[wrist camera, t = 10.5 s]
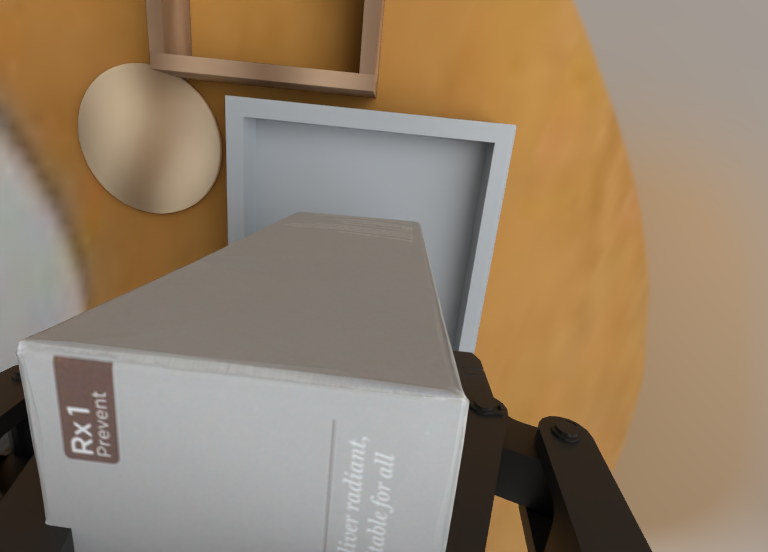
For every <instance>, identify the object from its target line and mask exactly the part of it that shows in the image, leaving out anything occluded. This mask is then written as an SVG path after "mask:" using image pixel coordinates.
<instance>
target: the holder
mask: <svg viewBox="0 0 768 552" xmlns="http://www.w3.org/2000/svg"><path fill="white" fill-rule="evenodd" d="M384 2H385V0H365V1H364V15H363V29H362V43H361V56H360V70H359V73H351V72H341V71H331V70H321V69H311V68H302V67H292V66H282V65H272V64H262V63H253V62H243V61H233V60H223V59H213V58H204V57H194V56H192V47H191V24H190V0H146V11H147V25H148V39H149V53H150V67H151V69H154V70H157V71H160V72H163V73H166V74H169V75H172V76H175V77H180V78H185V79H194V80H204V81H214V82H224V83H233V84H243V85H253V86H262V87H272V88H282V89H292V90H301V91H311V92H321V93H331V94H340V95H350V96H360V97H369V98H376V95H377V84H378V72H379V60H380V49H381V37H382V25H383V14H384Z"/></svg>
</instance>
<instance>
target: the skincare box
mask: <svg viewBox="0 0 768 552" xmlns="http://www.w3.org/2000/svg"><path fill="white" fill-rule="evenodd" d="M16 355H17V359H18V363H19V369H20V375H21V380H22V385H23V390H24V396H25V401H26V407H27V413H28V419H29V425H30V431H31V437H32V443H33V448H34V453H35V458H36V463H37V468H38V473H39V478H40V483H41V490H42V496H43V502H44V509H45V517H46V521H45V523H46V524H47V525H52V526H59V527H66V528H71V530H72V537H73V543H74V550H75V552H445V551H446V546H447V540H448V534H449V528H450V522H451V516H452V511H453V505H454V499H455V493H456V487H457V481H458V475H459V469H460V463H461V457H462V450H463V444H464V437H465V430H466V422H467V415H468V408H469V400H468V398H467V397H466V396H465V394H464V391H463V389H462V386H461V382H460V377H459V373H458V370H457V366H456V362H455V358H454V355H453V351H452V347H451V344H450V340H449V337H448V333H447V329H446V326H445V322H444V318H443V314H442V310H441V306H440V302H439V298H438V294H437V289H436V285H435V281H434V278H433V274H432V270H431V265H430V261H429V257H428V253H427V250H426V246H425V241H424V237H423V233H422V228H421V225H420V223H419V222H414V221H406V220H394V219H382V218H369V217H357V216H345V215H335V214H324V213H313V212H298V213H295V214H293V215H291V216H288V217H287V218H284V219H282V220H280V221H278V222H276V223H274V224H272V225H270V226H268V227H265V228H263V229H261V230H259V231H257V232H255V233H253V234H251V235H249V236H247V237H245V238H243V239H241V240H239V241H236V242H234V243H232V244H230V245H228V246H226V247H224V248H222V249H220V250H218V251H215V252H213V253H211V254H209V255H207V256H205V257H203V258H201V259H199V260H197V261H195V262H193V263H191V264H189V265H186V266H184V267H182V268H179V269H177V270H175V271H173V272H171V273H169V274H167V275H164V276H162V277H160V278H158V279H156V280H154V281H152V282H149V283H147V284H145V285H143V286H140V287H138V288H136V289H134V290H132V291H130V292H128V293H125V294H123V295H121V296H119V297H117V298H115V299H112V300H110V301H108V302H106V303H104V304H101V305H99V306H97V307H95V308H93V309H90V310H88V311H86V312H84V313H82V314H79V315H77V316H75V317H73V318H71V319H69V320H66V321H64V322H62V323H60V324H58V325H56V326H53V327H51V328H49V329H46V330H44V331H42V332H39V333H37V334H35V335H32V336H30V337H28V338H25V339H23V340H21V341H19V344H18V347H17V350H16Z"/></svg>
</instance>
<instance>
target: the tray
mask: <svg viewBox="0 0 768 552" xmlns="http://www.w3.org/2000/svg"><path fill="white" fill-rule="evenodd" d="M225 115H226V164H227V213H228V245H230V244H232V243H234V242H236V241H239V240H241V239H243V238H245V237H247V236H249V235H251V234H253V233H255V232H257V231H259V230H261V229H263V228H265V227H268V226H270V225H272V224H274V223H276V222H278V221H280V220H282V219H284V218H287V217H288V216H291V215H293V214H295V213H298V212H313V213H324V214H335V215H345V216H357V217H369V218H382V219H394V220H406V221H414V222H419V223H420V225H421V228H422V233H423V237H424V241H425V246H426V250H427V253H428V257H429V261H430V265H431V270H432V274H433V278H434V281H435V285H436V289H437V294H438V298H439V302H440V306H441V310H442V314H443V318H444V322H445V326H446V329H447V333H448V337H449V340H450V344H451V347H452V350H454V351H463V352H472V353H473V354H474V350H475V345H476V340H477V334H478V329H479V324H480V318H481V313H482V308H483V302H484V297H485V292H486V287H487V281H488V276H489V271H490V265H491V260H492V255H493V249H494V244H495V239H496V233H497V228H498V223H499V217H500V212H501V207H502V201H503V196H504V191H505V185H506V180H507V175H508V170H509V164H510V159H511V154H512V148H513V143H514V138H515V132H516V127H517V125H509V124H500V123H490V122H480V121H471V120H461V119H451V118H442V117H432V116H422V115H412V114H403V113H393V112H383V111H374V110H364V109H354V108H345V107H335V106H325V105H315V104H306V103H296V102H286V101H277V100H267V99H257V98H248V97H238V96H228V95H225Z"/></svg>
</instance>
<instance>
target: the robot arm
mask: <svg viewBox="0 0 768 552" xmlns="http://www.w3.org/2000/svg"><path fill="white" fill-rule="evenodd" d="M452 351H453V355H454V358H455V362H456V366H457V370H458V373H459V377H460V382H461V386H462V389H463V391H464V394H465V396H466V397H467V398H468V400H469V408H468V415H467V422H466V430H465V437H464V444H463V450H462V457H461V463H460V469H459V475H458V481H457V487H456V493H455V499H454V505H453V511H452V516H451V522H450V528H449V534H448V540H447V546H446V551H445V552H485V547H486V541H487V536H488V530H489V524H490V518H491V512H492V506H493V500H494V495H496V496H499V497H501V498H504V499H507V500H509V501H512V502H514V503H517V504H519V511H520V516H521V520H522V525H523V530H524V535H525V540H526V544H527V549H528V552H652V551H651V549H650V547H649V545H648V543H647V541H646V539H645V537H644V535H643V533H642V531H641V529H640V528H639V526H638V524H637V522H636V520H635V518H634V516H633V514H632V512H631V510H630V508H629V506H628V505H627V503H626V501H625V499H624V497H623V495H622V493H621V491H620V489H619V488H618V485H617V483H616V481H615V480H614V478H613V476H612V474H611V472H610V470H609V468H608V466H607V464H606V462H605V460H604V458H603V457H602V455H601V453H600V451H599V449H598V447H597V445H596V443H595V441H594V439H593V437H592V436H591V435H590V434H589V432H588V431H587V430H586V429H584V428H583V427H582V426H580V425H579V424H577V423H576V422H574V421H572V420H569V419H566V418H562V417H556V416H549V417H545V418H542V420H541V421H540V422H539V425H538V428H537V427H534V426H531V425H528V424H525V423H522V422H519V421H516V420H514V419H512V418H510V417H509V416H508V412H507V408H506V407H505V406H504V405H503V403H501V402H500V401H498V400H497V399H496V398H494V397H493V394H492V392H491V389H490V386H489V383H488V381H487V378H486V375H485V372H484V371H483V367H482V364H481V361H480V360H479V359H478V358H477V357H476V356H475V355H474V354H473V353H472V352H463V351H454V350H452ZM45 521H46V517H45V509H44V502H43V496H42V490H41V483H40V478H39V473H38V468H37V463H36V458H35V453H34V448H33V443H32V437H31V431H30V425H29V419H28V413H27V407H26V401H25V396H24V390H23V385H22V380H21V375H20V369H19V365H16V366H13V367H11V368H9V369H7V370H5V371H3V372H1V373H0V552H75V550H74V543H73V537H72V530H71V528H66V527H59V526H52V525H47V524H46V523H45Z"/></svg>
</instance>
